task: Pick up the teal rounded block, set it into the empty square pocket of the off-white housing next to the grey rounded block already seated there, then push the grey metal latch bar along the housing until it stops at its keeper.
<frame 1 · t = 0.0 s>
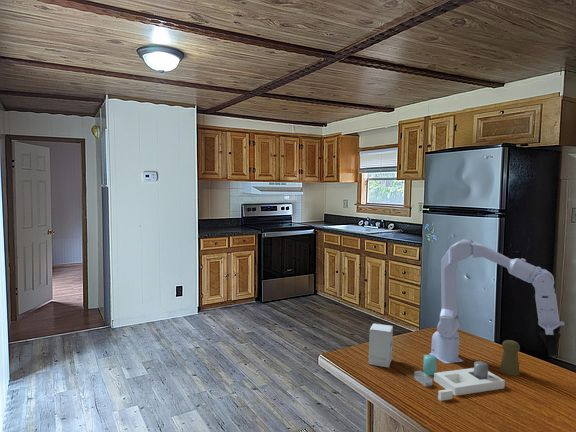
hand: (553, 351, 130), 11 cm above the counter, tool pointing down, fingers open, 7 cm apart
cork: (509, 373, 138), on the counter
housing: (468, 386, 128), on the counter
latch bar: (423, 379, 129), point 1 cm above the counter, slide at 0.0 cm
grey rounded block: (480, 382, 129), point 1 cm above the counter, touching housing
keeper: (445, 400, 119), on the counter
supplement box: (380, 362, 145), on the counter
teal rounded block: (429, 374, 136), on the counter
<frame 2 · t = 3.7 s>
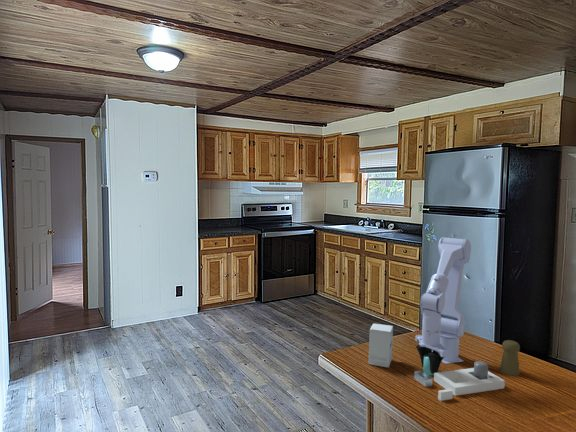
hand: (429, 369, 136), 2 cm above the counter, tool pointing down, fingers closed on teal rounded block, 4 cm apart
teal rounded block: (429, 374, 136), on the counter, touching gripper
everything else where it was.
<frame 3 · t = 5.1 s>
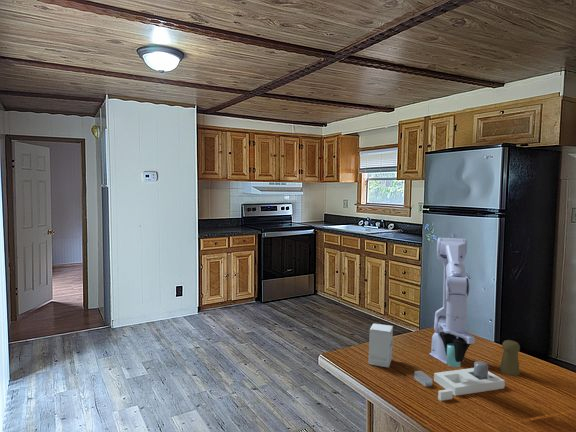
hand: (454, 358, 127), 9 cm above the counter, tool pointing down, fingers closed on teal rounded block, 4 cm apart
teal rounded block: (453, 364, 127), point 7 cm above the counter, touching gripper
everything else where it was.
when the fingers open (4 cm above the counter, at t = 6.9 s): teal rounded block drops 1 cm, resting on housing.
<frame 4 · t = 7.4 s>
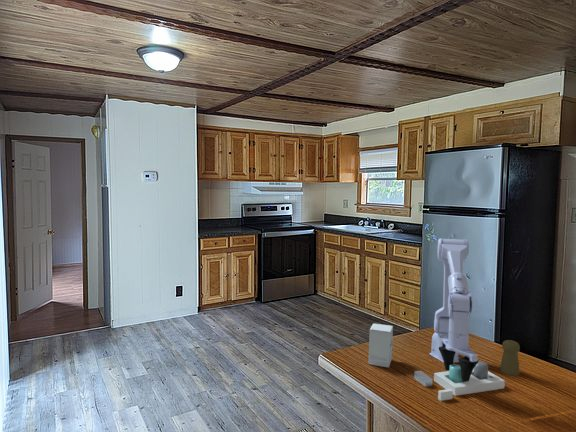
hand: (456, 375, 127), 4 cm above the counter, tool pointing down, fingers open, 7 cm apart
teal rounded block: (455, 385, 127), point 1 cm above the counter, touching housing
everything else where it was.
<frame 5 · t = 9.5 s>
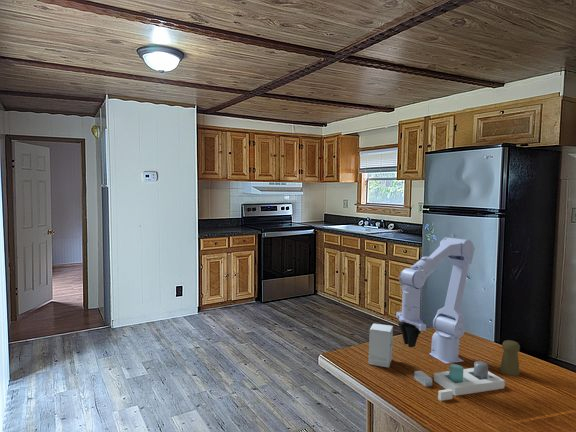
hand: (409, 345, 136), 9 cm above the counter, tool pointing down, fingers closed
nothing on the counter moved.
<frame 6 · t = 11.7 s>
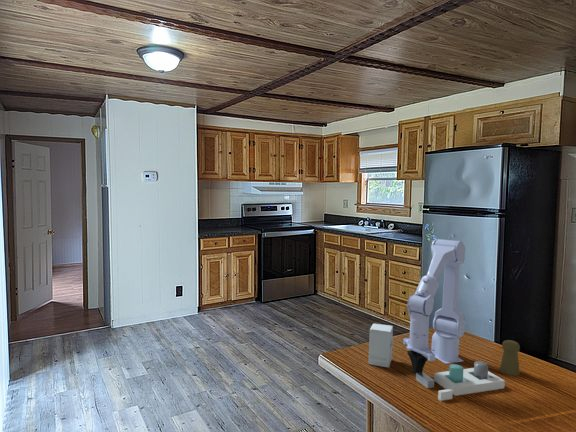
hand: (417, 373, 132), 2 cm above the counter, tool pointing down, fingers closed
latch bar: (424, 380, 128), point 1 cm above the counter, slide at 1.0 cm, touching gripper
everything else where it was.
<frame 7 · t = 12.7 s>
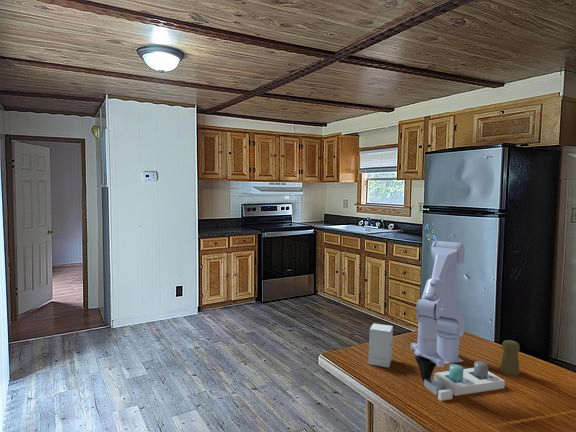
hand: (425, 380, 128), 2 cm above the counter, tool pointing down, fingers closed
latch bar: (433, 387, 124), point 1 cm above the counter, slide at 5.3 cm, touching gripper
everything else where it was.
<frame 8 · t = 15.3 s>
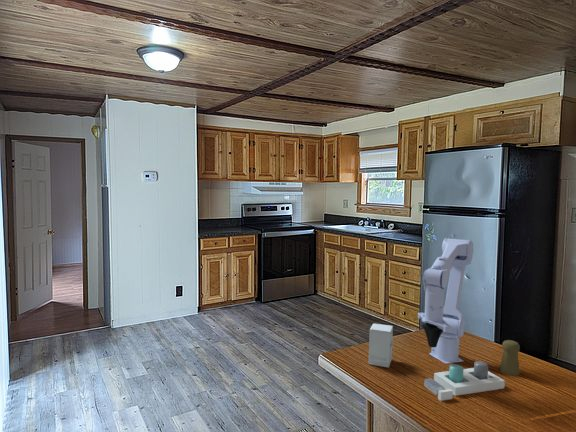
hand: (432, 346, 134), 10 cm above the counter, tool pointing down, fingers closed
latch bar: (433, 387, 124), point 1 cm above the counter, slide at 5.4 cm
everything else where it was.
at the end: teal rounded block 0.2 cm from the target spot on the housing, point 0.6 cm above the housing's base; teal rounded block tilted 0°; latch bar slide at 5.4 cm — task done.
